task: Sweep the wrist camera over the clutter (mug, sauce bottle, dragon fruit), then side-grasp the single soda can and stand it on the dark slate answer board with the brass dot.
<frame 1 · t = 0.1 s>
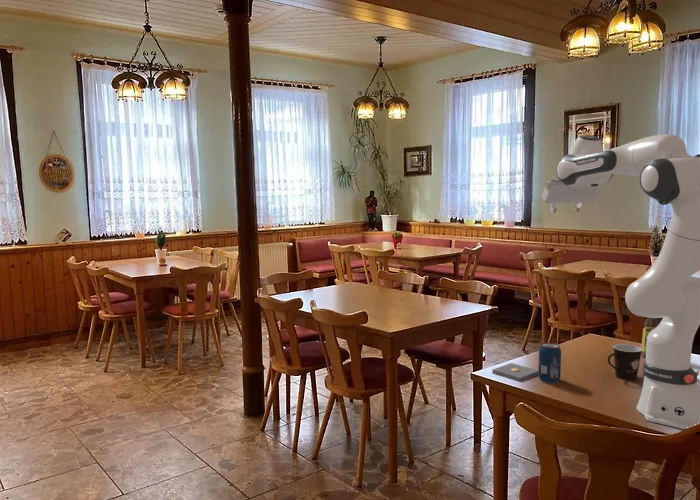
hand: (564, 211, 211), 54 cm above the table, tool tilted 30°, fingers open, 8 cm apart
dragon fruit: (664, 374, 196), on the table
coffee mug: (621, 377, 193), on the table
slate board: (515, 373, 197), on the table
soda can: (549, 380, 191), on the table
sauce bottle: (650, 357, 213), on the table
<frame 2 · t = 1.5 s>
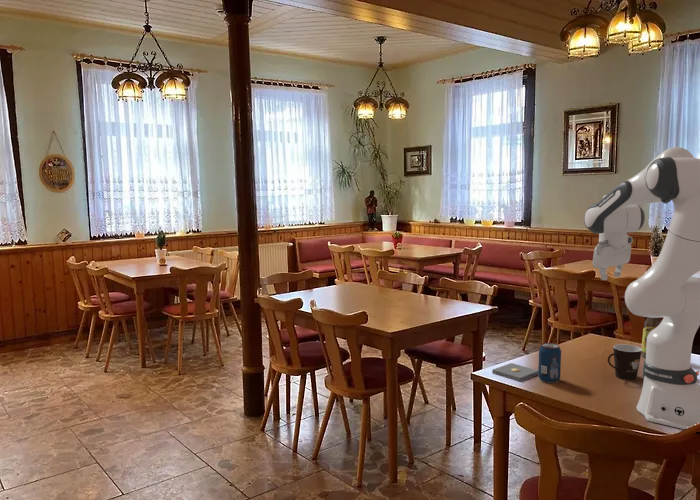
hand: (610, 278, 203), 31 cm above the table, tool pointing down, fingers open, 8 cm apart
nothing on the table moved.
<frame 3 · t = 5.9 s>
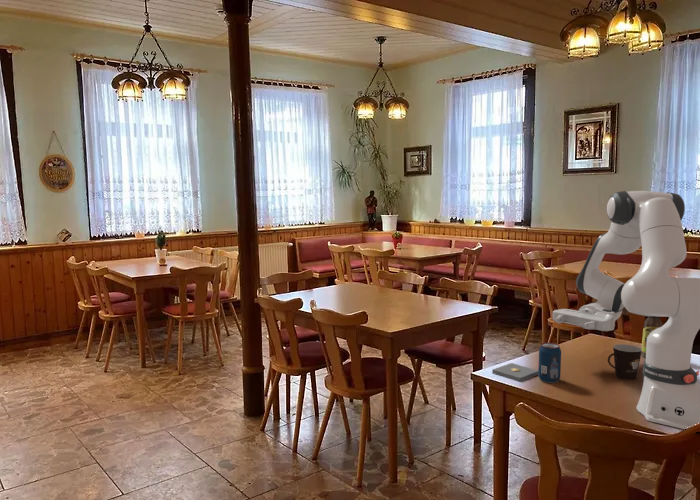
hand: (570, 323, 196), 17 cm above the table, tool horizontal, fingers open, 8 cm apart
nothing on the table moved.
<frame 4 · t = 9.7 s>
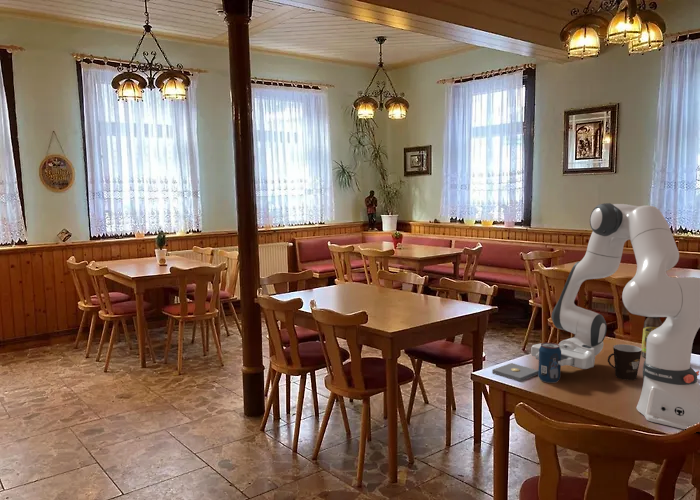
hand: (548, 360, 189), 7 cm above the table, tool horizontal, fingers closed on soda can, 7 cm apart
soda can: (549, 380, 191), on the table, touching gripper
everything else where it was.
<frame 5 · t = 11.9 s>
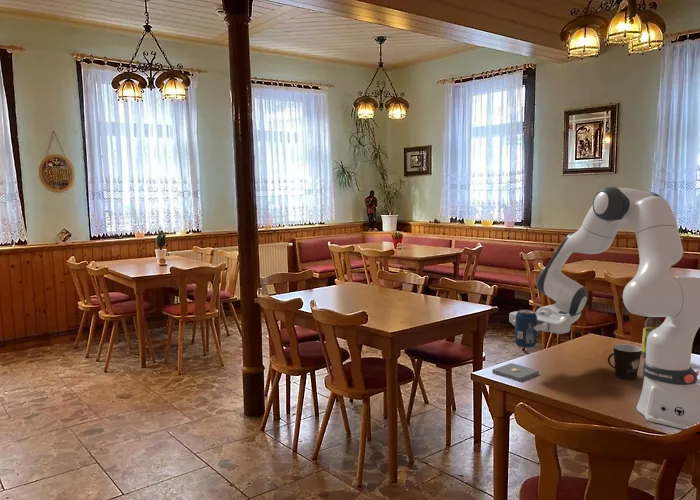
hand: (524, 325, 193), 17 cm above the table, tool horizontal, fingers closed on soda can, 7 cm apart
soda can: (525, 346, 195), point 10 cm above the table, touching gripper
everything else where it was.
when the fingers open (9 cm above the table, at t = 14.1 s): soda can stays where it is, resting on slate board.
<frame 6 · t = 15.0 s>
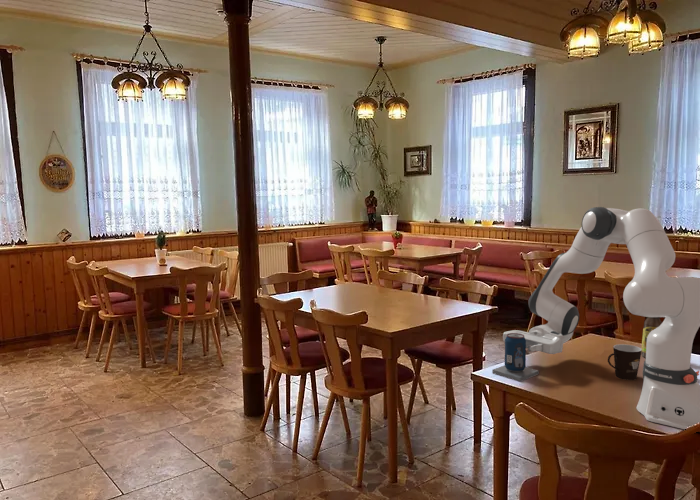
hand: (518, 345, 197), 10 cm above the table, tool horizontal, fingers open, 8 cm apart
soda can: (514, 369, 197), point 1 cm above the table, touching slate board
everything else where it was.
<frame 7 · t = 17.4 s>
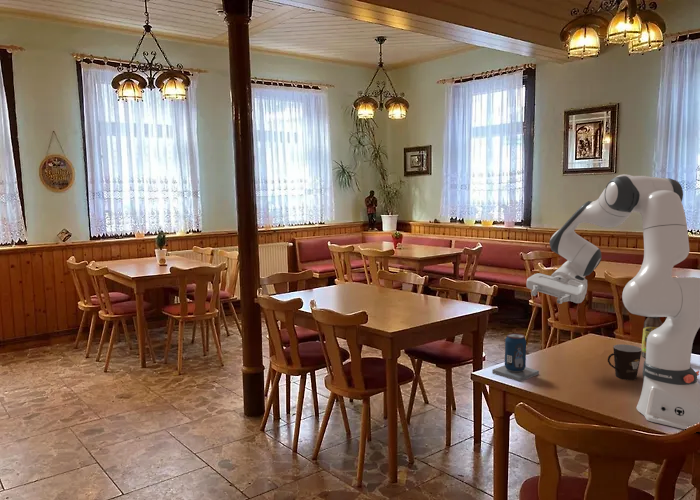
hand: (545, 297, 199), 25 cm above the table, tool tilted 75°, fingers open, 8 cm apart
nothing on the table moved.
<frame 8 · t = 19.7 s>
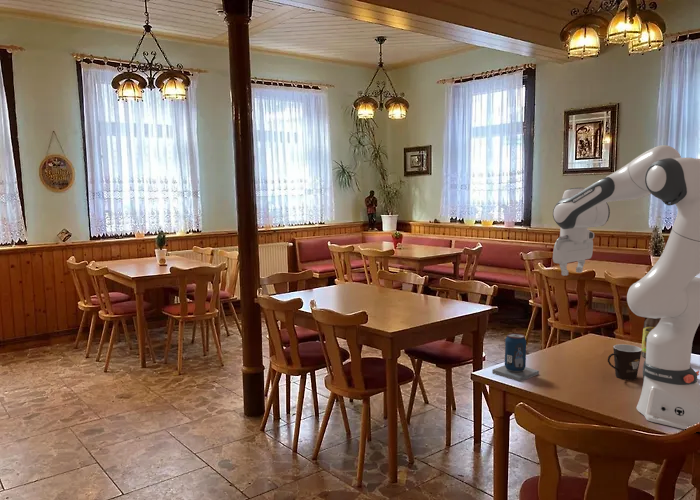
hand: (572, 273, 201), 33 cm above the table, tool pointing down, fingers open, 8 cm apart
nothing on the table moved.
at the end: soda can inside the target area on the slate board (0.3 cm from its centre), point 1.2 cm above the slate board's base; soda can tilted 0°; the gripper is holding nothing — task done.
